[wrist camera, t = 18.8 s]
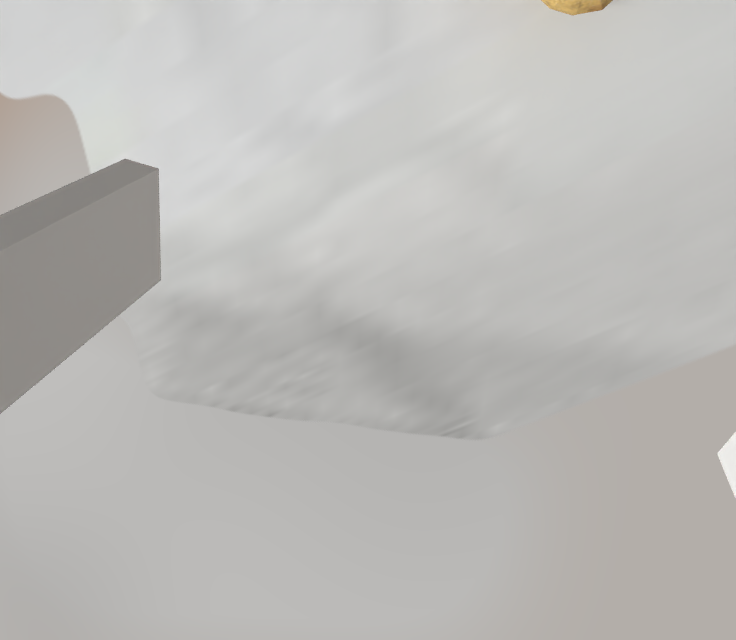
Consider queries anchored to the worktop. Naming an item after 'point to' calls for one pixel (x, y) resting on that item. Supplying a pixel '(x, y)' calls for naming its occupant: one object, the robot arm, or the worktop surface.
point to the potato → (576, 5)
